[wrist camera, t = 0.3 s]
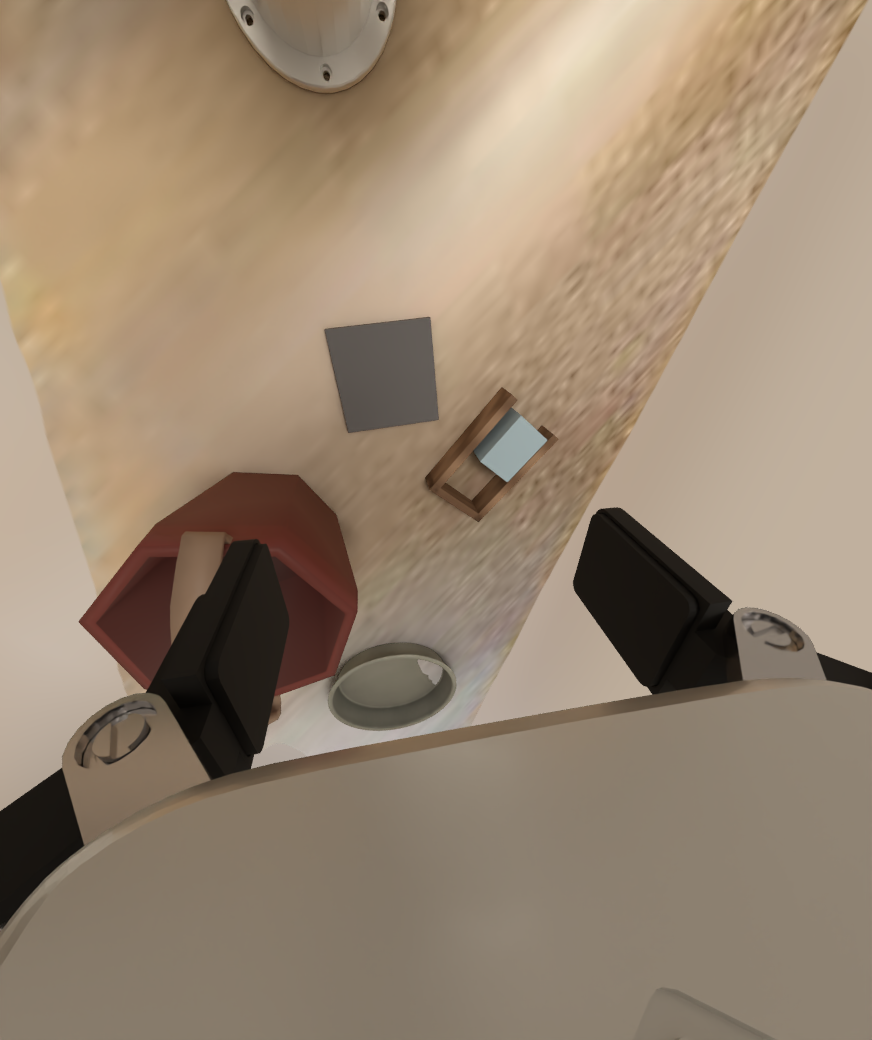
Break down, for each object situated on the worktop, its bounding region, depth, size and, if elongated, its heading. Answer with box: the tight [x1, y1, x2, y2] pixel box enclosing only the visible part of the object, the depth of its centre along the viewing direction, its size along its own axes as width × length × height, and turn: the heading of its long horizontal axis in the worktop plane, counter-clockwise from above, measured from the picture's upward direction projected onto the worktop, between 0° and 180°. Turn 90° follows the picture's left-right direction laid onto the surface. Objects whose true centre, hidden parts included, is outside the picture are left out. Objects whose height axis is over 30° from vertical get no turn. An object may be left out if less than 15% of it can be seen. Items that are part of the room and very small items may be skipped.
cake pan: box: [328, 643, 456, 731], centre depth 71 cm, size 25×25×4 cm
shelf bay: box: [426, 388, 558, 522], centre depth 47 cm, size 15×9×4 cm, turn 140°
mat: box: [325, 317, 439, 433], centre depth 41 cm, size 11×11×1 cm
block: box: [473, 408, 547, 482], centre depth 46 cm, size 7×5×5 cm
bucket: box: [79, 472, 358, 725], centre depth 39 cm, size 24×22×25 cm
